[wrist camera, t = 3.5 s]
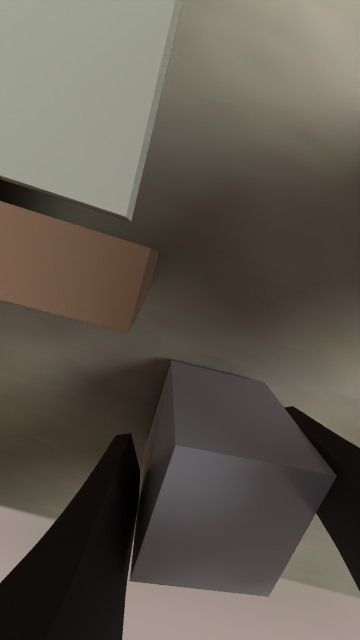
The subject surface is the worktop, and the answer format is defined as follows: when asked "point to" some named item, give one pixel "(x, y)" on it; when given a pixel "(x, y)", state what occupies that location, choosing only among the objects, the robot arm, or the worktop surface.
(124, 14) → the trapdoor
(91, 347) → the worktop surface
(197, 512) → the grey cube
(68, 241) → the frame
